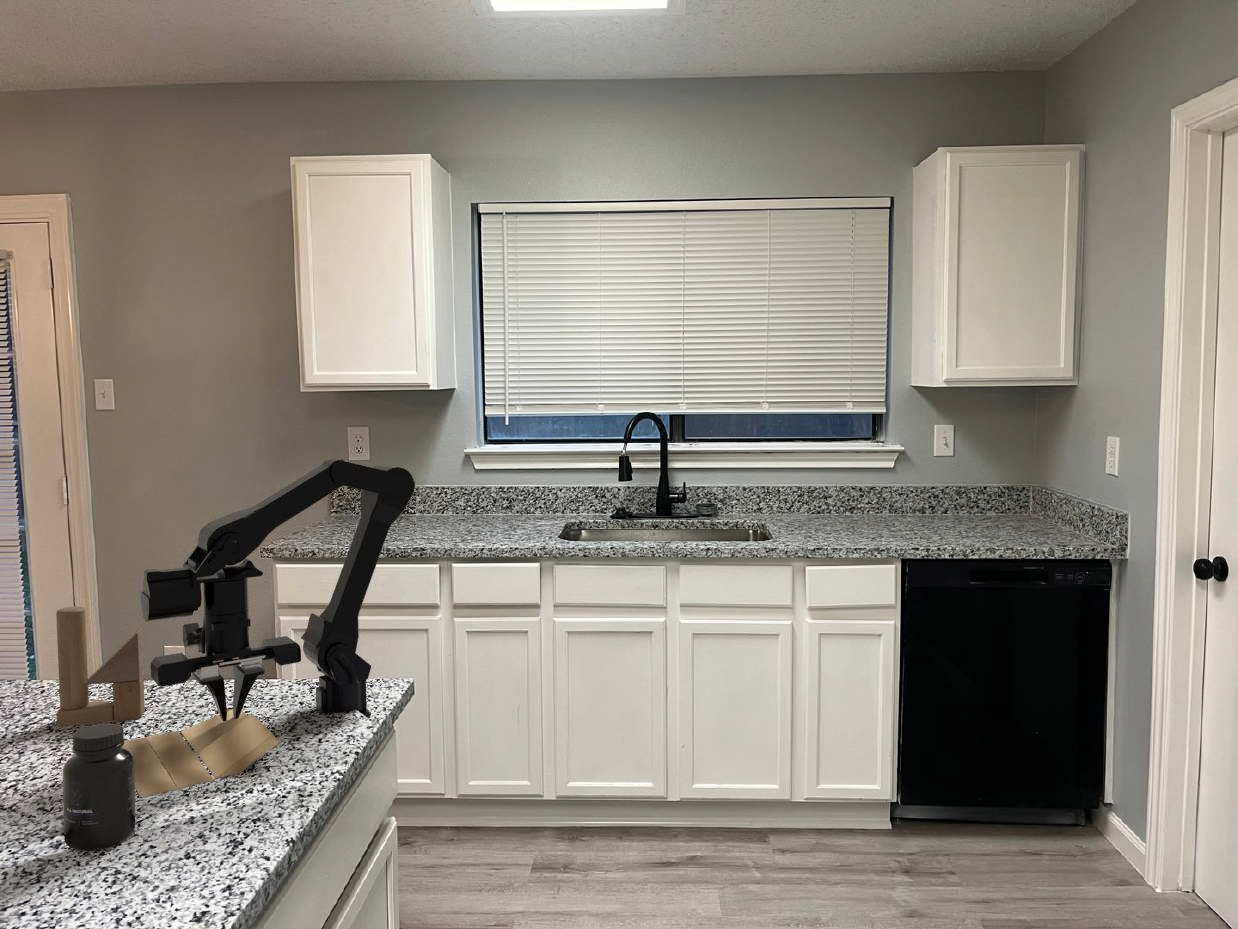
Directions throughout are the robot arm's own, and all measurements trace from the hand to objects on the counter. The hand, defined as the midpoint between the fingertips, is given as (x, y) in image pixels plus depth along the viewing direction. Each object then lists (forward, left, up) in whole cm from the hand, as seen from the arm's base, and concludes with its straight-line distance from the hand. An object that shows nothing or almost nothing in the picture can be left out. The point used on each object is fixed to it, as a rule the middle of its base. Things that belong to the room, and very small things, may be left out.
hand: (230, 719), depth 126 cm
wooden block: (+14, -16, -3) cm, 21 cm away
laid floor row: (+10, +6, -3) cm, 12 cm away
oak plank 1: (+1, +1, -2) cm, 3 cm away
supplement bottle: (+19, +21, -3) cm, 28 cm away
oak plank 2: (+1, +11, -1) cm, 11 cm away
